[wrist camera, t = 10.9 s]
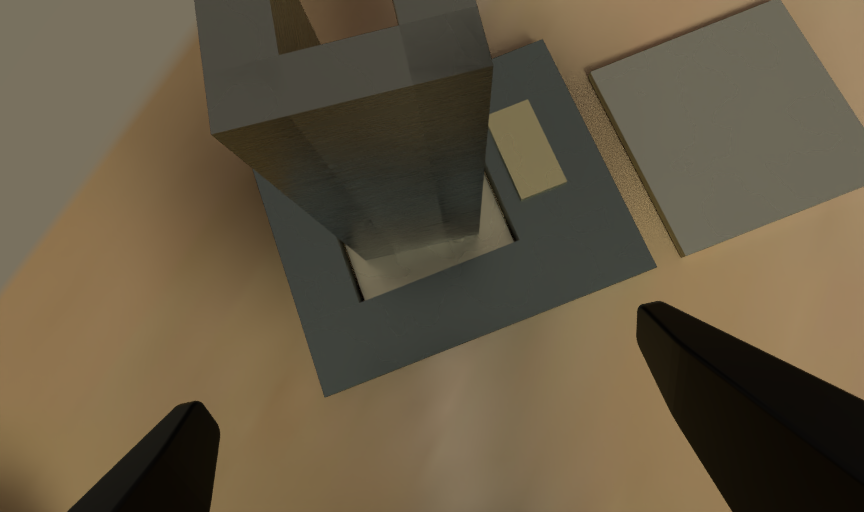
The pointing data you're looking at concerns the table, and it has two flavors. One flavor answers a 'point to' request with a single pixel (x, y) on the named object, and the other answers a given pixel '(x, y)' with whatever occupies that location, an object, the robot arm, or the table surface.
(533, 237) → the rail plate
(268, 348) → the table surface
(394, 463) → the table surface
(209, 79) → the grey clip
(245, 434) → the table surface
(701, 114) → the grey square plate
